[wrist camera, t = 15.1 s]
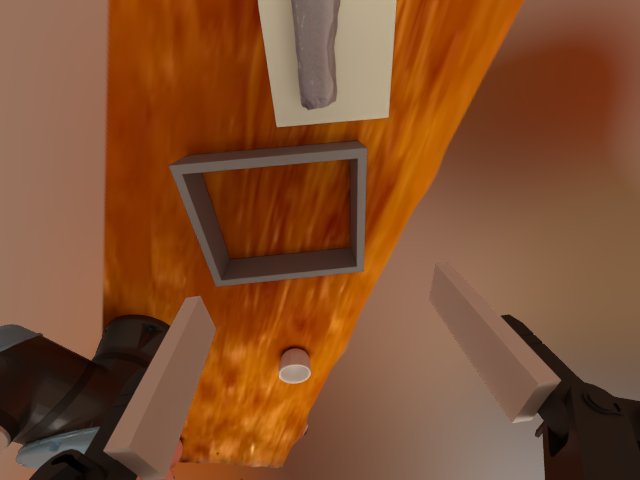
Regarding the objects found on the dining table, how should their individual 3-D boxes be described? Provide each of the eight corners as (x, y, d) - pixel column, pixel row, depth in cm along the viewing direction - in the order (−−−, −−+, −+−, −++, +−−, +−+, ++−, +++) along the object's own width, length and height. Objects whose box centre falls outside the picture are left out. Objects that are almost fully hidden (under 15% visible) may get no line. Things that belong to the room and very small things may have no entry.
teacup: (286, 341, 59) (285, 362, 55) (314, 347, 61) (316, 367, 57) (273, 364, 64) (271, 385, 59) (300, 369, 66) (300, 390, 61)
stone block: (289, -15, 27) (285, -66, 18) (333, -16, 27) (348, -66, 19) (297, 107, 33) (297, 111, 24) (332, 105, 33) (344, 109, 25)
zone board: (277, 126, 35) (276, 127, 34) (253, -34, 26) (252, -37, 26) (387, 117, 35) (388, 117, 35) (397, -45, 27) (399, -47, 26)
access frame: (225, 265, 46) (216, 286, 41) (187, 155, 36) (168, 165, 31) (356, 252, 47) (363, 271, 42) (357, 140, 36) (367, 147, 31)
